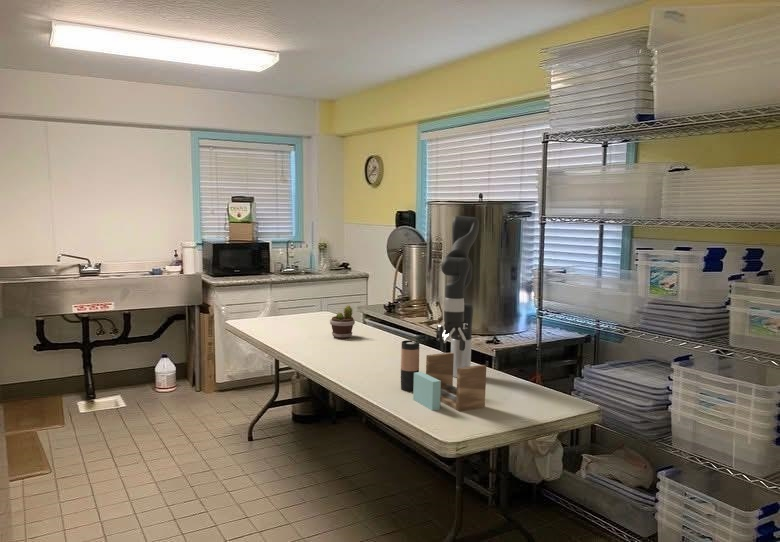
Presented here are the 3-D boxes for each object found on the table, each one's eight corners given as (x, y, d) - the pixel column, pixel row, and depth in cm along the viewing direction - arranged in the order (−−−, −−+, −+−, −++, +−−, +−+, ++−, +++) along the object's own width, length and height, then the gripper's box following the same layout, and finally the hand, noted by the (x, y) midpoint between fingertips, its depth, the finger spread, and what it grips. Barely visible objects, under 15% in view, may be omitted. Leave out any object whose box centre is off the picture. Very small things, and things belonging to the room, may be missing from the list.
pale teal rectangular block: (413, 399, 233) (413, 372, 232) (420, 398, 235) (421, 371, 234) (432, 410, 221) (432, 382, 220) (439, 409, 222) (440, 380, 221)
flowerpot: (328, 339, 339) (328, 305, 337) (331, 334, 354) (332, 301, 352) (353, 340, 338) (353, 306, 336) (355, 335, 354) (356, 302, 352)
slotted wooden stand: (425, 393, 241) (426, 355, 240) (449, 389, 247) (451, 352, 246) (459, 411, 220) (460, 369, 219) (484, 406, 226) (486, 366, 225)
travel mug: (403, 392, 242) (404, 344, 240) (397, 386, 250) (399, 340, 248) (420, 391, 245) (422, 343, 243) (415, 385, 252) (416, 339, 250)
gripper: (463, 307, 231) (461, 347, 233) (433, 309, 224) (431, 351, 226) (475, 309, 225) (473, 351, 226) (444, 312, 218) (443, 355, 219)
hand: (452, 351), depth 226 cm, fingers open, 8 cm apart
